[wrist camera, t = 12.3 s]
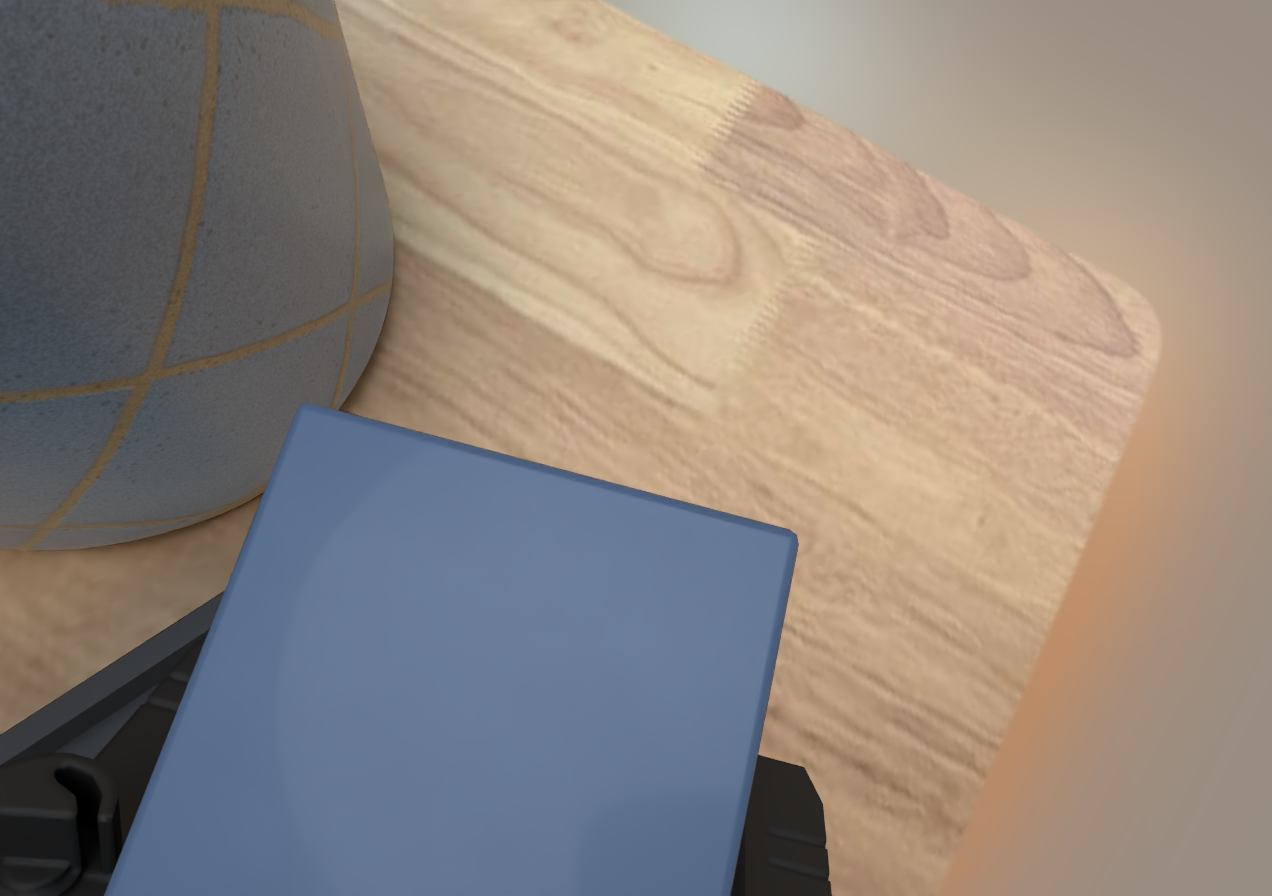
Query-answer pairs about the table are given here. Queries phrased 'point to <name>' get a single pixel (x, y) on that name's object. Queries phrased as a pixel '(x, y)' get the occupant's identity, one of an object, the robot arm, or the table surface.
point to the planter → (175, 256)
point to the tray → (106, 695)
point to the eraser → (466, 684)
